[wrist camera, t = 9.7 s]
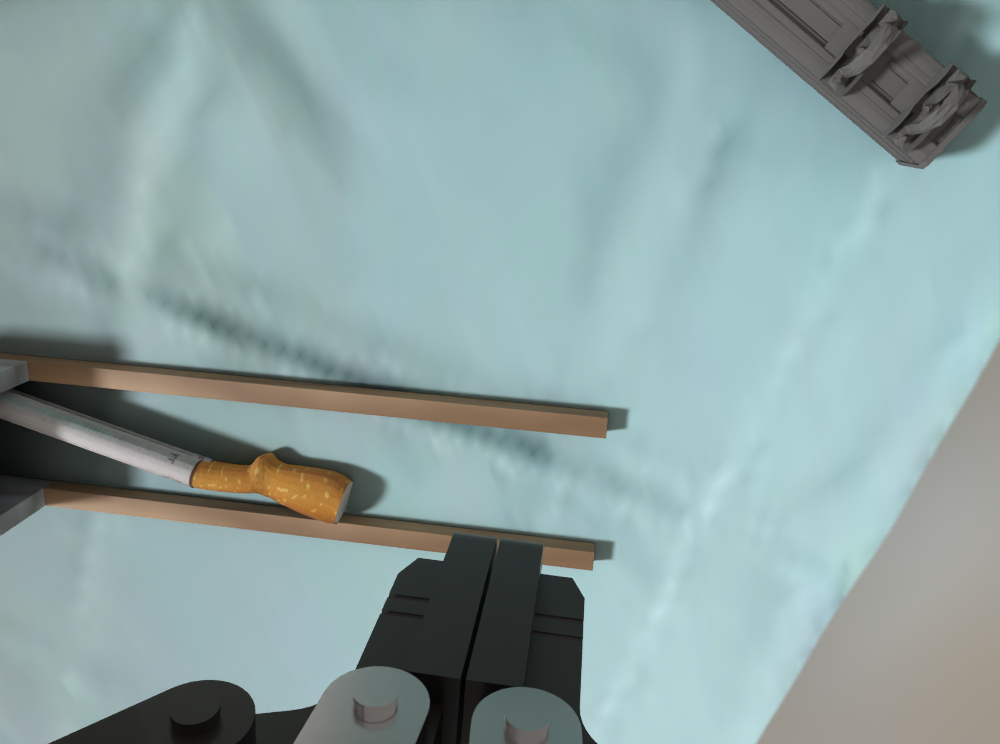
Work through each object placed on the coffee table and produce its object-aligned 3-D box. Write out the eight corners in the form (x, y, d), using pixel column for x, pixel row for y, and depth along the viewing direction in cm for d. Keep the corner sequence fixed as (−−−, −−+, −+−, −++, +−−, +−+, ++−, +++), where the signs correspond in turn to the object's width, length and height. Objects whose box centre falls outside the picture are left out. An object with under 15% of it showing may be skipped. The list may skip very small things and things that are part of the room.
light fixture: (676, -144, 32) (688, -199, 26) (956, 104, 33) (1021, 98, 27) (621, -70, 33) (622, -108, 27) (895, 169, 34) (946, 175, 28)
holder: (-72, 345, 42) (-163, 375, 37) (608, 411, 38) (606, 454, 33) (-49, 485, 45) (-131, 530, 40) (593, 561, 41) (589, 621, 36)
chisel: (347, 479, 39) (326, 538, 39) (358, 477, 42) (338, 532, 42) (-13, 351, 40) (-36, 408, 40) (22, 358, 43) (1, 411, 43)
